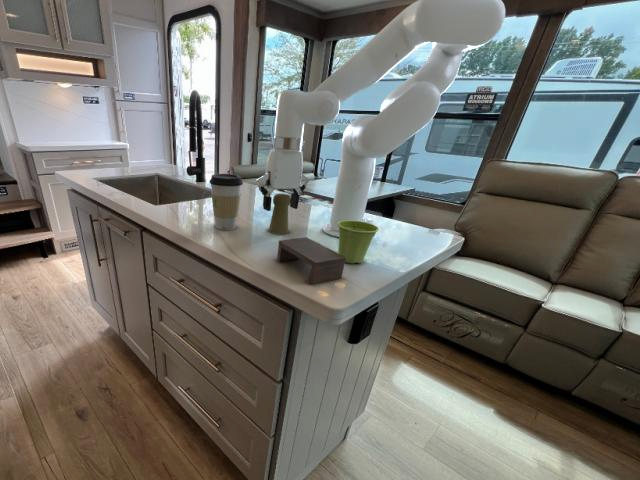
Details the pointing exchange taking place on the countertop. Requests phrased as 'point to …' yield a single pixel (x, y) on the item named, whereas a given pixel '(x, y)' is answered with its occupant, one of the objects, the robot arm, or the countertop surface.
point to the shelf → (313, 258)
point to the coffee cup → (225, 199)
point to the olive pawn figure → (280, 214)
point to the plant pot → (355, 239)
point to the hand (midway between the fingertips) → (280, 208)
